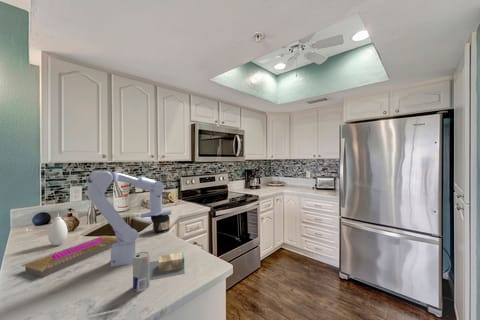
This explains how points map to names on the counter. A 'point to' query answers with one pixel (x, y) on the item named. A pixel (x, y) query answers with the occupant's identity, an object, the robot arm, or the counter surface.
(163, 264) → the oak block
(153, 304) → the counter surface
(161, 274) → the rubber mat
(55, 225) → the white egg candle
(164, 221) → the supplement container
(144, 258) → the energy drink
